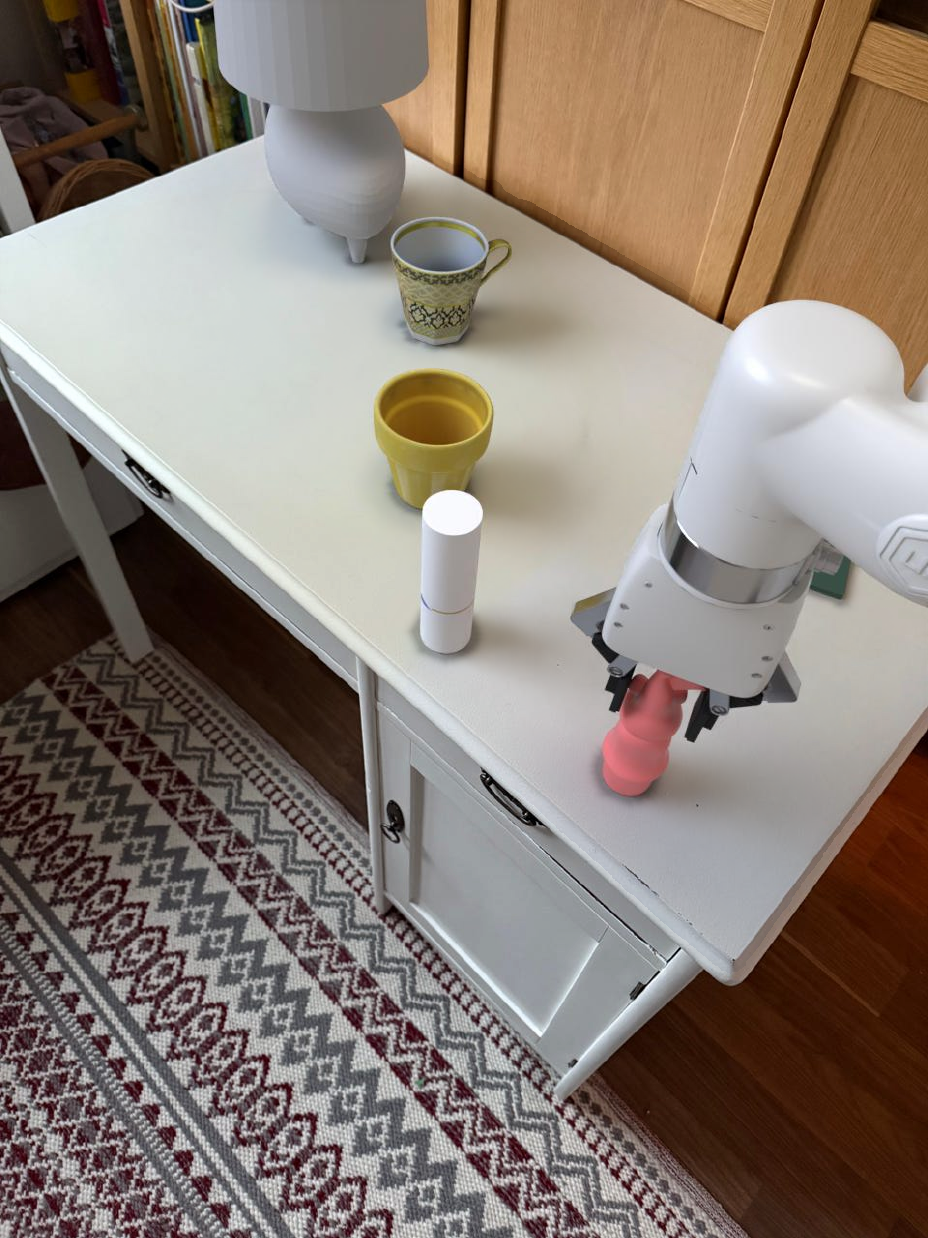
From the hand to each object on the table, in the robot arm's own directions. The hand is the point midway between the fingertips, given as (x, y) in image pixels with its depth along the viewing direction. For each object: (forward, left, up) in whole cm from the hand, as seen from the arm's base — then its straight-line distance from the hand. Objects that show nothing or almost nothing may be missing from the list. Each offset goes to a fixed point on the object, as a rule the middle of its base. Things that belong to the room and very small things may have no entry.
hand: (656, 708), depth 62 cm
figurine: (0, 0, -10) cm, 10 cm away
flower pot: (+26, -21, -10) cm, 35 cm away
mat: (-7, -34, -10) cm, 36 cm away
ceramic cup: (+34, -44, -10) cm, 56 cm away
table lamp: (+53, -54, -10) cm, 76 cm away
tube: (+18, -6, -10) cm, 21 cm away
